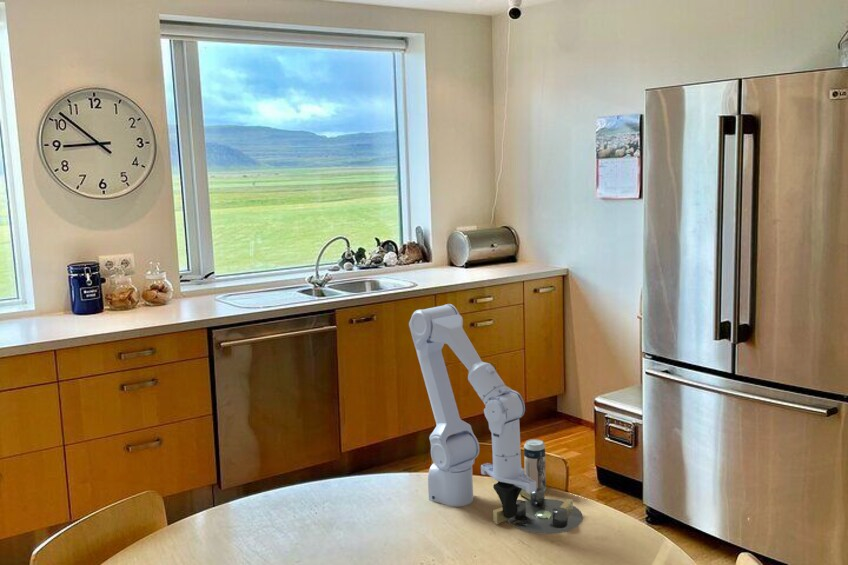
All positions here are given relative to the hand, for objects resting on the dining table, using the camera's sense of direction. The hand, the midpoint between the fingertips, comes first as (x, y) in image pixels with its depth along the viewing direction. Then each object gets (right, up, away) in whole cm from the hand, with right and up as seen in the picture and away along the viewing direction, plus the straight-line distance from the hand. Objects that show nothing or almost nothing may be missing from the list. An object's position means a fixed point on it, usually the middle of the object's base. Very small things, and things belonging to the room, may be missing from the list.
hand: (509, 516), depth 156 cm
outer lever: (+11, -1, 0) cm, 11 cm away
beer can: (+8, 0, +17) cm, 18 cm away
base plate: (+8, -2, +3) cm, 8 cm away
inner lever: (0, -1, +2) cm, 2 cm away
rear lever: (+6, +1, +10) cm, 11 cm away
